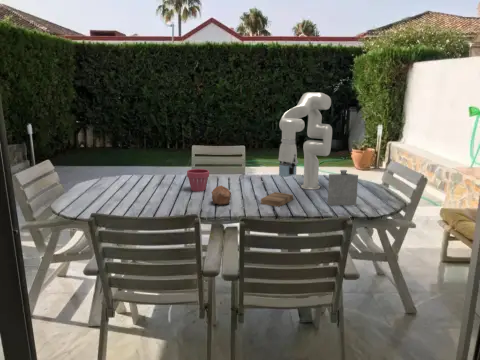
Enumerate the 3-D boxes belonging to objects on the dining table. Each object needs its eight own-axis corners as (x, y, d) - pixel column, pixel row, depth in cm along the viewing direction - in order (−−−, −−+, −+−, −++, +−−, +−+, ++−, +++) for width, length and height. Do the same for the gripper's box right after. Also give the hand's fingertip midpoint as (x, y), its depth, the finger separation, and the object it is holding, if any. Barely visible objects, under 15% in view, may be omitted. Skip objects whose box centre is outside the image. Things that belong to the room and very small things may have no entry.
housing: (279, 175, 230) (279, 163, 229) (289, 173, 236) (290, 161, 235) (285, 176, 227) (285, 164, 225) (296, 174, 232) (296, 162, 231)
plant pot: (211, 187, 270) (210, 168, 267) (207, 193, 256) (207, 173, 253) (190, 187, 271) (189, 168, 268) (185, 192, 257) (184, 172, 255)
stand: (274, 196, 247) (275, 191, 247) (293, 199, 241) (293, 194, 241) (260, 203, 232) (261, 198, 232) (279, 206, 226) (280, 201, 226)
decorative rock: (211, 200, 239) (211, 184, 237) (230, 200, 240) (230, 183, 238) (211, 206, 227) (211, 189, 224) (231, 206, 227) (231, 189, 225)
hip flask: (327, 204, 230) (329, 170, 226) (327, 202, 234) (328, 169, 230) (356, 205, 228) (358, 171, 224) (355, 203, 232) (357, 169, 228)
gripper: (272, 140, 231) (272, 172, 235) (295, 144, 218) (294, 176, 223) (282, 139, 236) (281, 170, 240) (304, 142, 223) (303, 174, 227)
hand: (287, 173), depth 231 cm, fingers closed on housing, 5 cm apart
